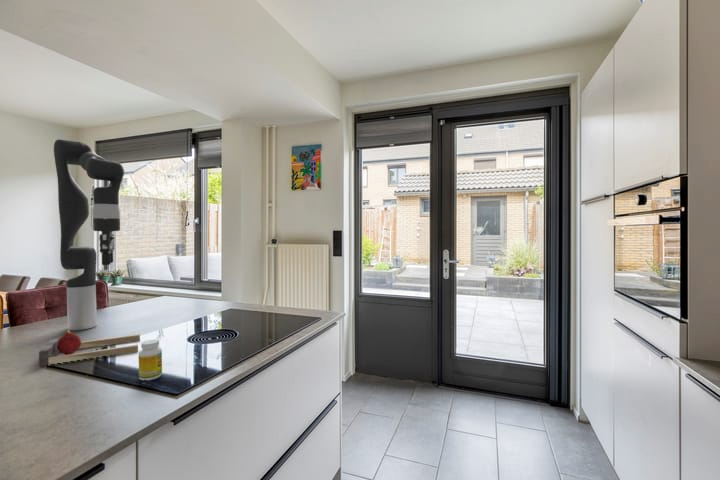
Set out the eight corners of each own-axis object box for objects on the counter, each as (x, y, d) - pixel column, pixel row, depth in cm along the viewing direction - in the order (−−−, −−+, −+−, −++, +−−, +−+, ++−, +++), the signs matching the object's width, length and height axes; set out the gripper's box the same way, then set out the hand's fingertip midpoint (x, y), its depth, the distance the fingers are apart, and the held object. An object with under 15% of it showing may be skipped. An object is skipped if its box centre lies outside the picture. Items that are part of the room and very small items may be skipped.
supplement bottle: (140, 374, 92) (139, 340, 92) (163, 371, 95) (162, 337, 95) (137, 382, 88) (136, 346, 87) (161, 378, 90) (160, 343, 90)
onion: (86, 352, 110) (85, 328, 109) (69, 359, 104) (68, 333, 104) (69, 351, 110) (69, 327, 110) (52, 358, 104) (51, 333, 104)
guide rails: (52, 351, 110) (52, 338, 110) (139, 339, 123) (139, 327, 123) (39, 366, 98) (38, 351, 98) (137, 351, 110) (137, 337, 110)
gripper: (96, 218, 122) (97, 262, 122) (89, 216, 110) (90, 266, 110) (121, 218, 126) (122, 261, 126) (117, 217, 113) (118, 265, 114)
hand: (107, 263), depth 118 cm, fingers open, 8 cm apart
